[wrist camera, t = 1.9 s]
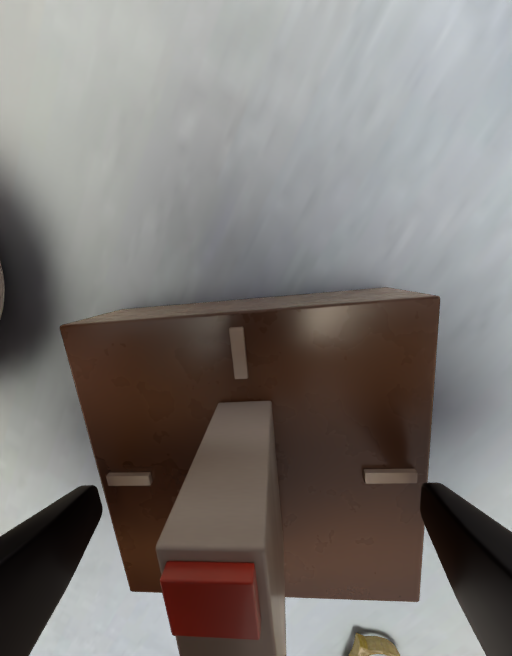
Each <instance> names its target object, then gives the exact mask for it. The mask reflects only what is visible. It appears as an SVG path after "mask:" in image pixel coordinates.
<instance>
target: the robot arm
mask: <svg viewBox="0 0 512 656" xmlns="http://www.w3.org/2000/svg"><path fill="white" fill-rule="evenodd" d="M420 513H421V517H422V519H423V522H424V524H425V527H426V529H427V531H428V534H429V536H430V538H431V540H432V543H433V545H434V547H435V550H436V552H437V554H438V557H439V559H440V561H441V564H442V566H443V568H444V571H445V573H446V575H447V578H448V580H449V582H450V585H451V587H452V589H453V591H454V593H455V596H456V598H457V600H458V602H459V604H460V606H461V608H462V610H463V612H464V614H465V616H466V618H467V619H468V621H469V623H470V625H471V627H472V629H473V631H474V633H475V635H476V637H477V639H478V640H479V642H480V644H481V646H482V648H483V650H484V652H485V654H486V656H512V532H511V531H509V530H508V529H506V528H505V527H503V526H502V525H501V524H499V523H498V522H496V521H495V520H493V519H492V518H491V517H489V516H488V515H486V514H485V513H483V512H482V511H480V510H479V509H478V508H476V507H475V506H473V505H472V504H470V503H469V502H467V501H466V500H465V499H463V498H462V497H460V496H459V495H457V494H456V493H454V492H453V491H452V490H450V489H449V488H447V487H446V486H444V485H443V484H441V483H423V484H422V487H421V499H420ZM101 515H102V504H101V500H100V497H99V493H98V489H97V487H95V486H93V485H85V486H80V487H78V488H76V489H75V490H73V491H71V492H70V493H68V494H67V495H65V496H63V497H62V498H60V499H59V500H57V501H56V502H54V503H52V504H51V505H49V506H48V507H46V508H45V509H43V510H41V511H40V512H38V513H37V514H35V515H33V516H32V517H30V518H29V519H27V520H26V521H24V522H22V523H21V524H19V525H18V526H16V527H15V528H13V529H11V530H10V531H8V532H7V533H5V534H3V535H2V536H0V656H29V654H30V652H31V651H32V649H33V647H34V645H35V644H36V642H37V640H38V638H39V636H40V635H41V633H42V631H43V629H44V628H45V626H46V624H47V622H48V621H49V619H50V617H51V615H52V613H53V612H54V610H55V608H56V606H57V605H58V603H59V601H60V599H61V598H62V596H63V594H64V592H65V590H66V588H67V586H68V585H69V583H70V581H71V579H72V577H73V575H74V573H75V571H76V568H77V566H78V564H79V562H80V560H81V558H82V556H83V554H84V552H85V550H86V548H87V545H88V543H89V541H90V539H91V537H92V535H93V533H94V531H95V529H96V527H97V525H98V522H99V520H100V518H101Z"/></svg>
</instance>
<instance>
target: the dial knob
mask: <svg viewBox="0 0 512 656" xmlns="http://www.w3.org/2000/svg"><path fill="white" fill-rule="evenodd" d="M156 553H157V558H158V562H159V566H160V571H161V578H160V585H161V589H162V593H163V598H164V602H165V606H166V610H167V615H168V619H169V623H170V628H171V632H172V635H174V636H176V641H177V645H178V649H179V654H180V656H286V621H285V579H284V542H283V530H282V518H281V506H280V495H279V483H278V471H277V459H276V448H275V436H274V424H273V412H272V402H271V401H249V402H225V403H218V405H217V407H216V410H215V412H214V414H213V417H212V419H211V421H210V423H209V426H208V428H207V430H206V433H205V435H204V437H203V439H202V442H201V444H200V446H199V448H198V451H197V453H196V455H195V458H194V460H193V462H192V464H191V467H190V469H189V471H188V474H187V476H186V478H185V480H184V483H183V485H182V487H181V490H180V492H179V494H178V496H177V499H176V501H175V503H174V505H173V508H172V510H171V512H170V515H169V517H168V519H167V521H166V524H165V526H164V528H163V531H162V533H161V535H160V537H159V540H158V542H157V544H156Z"/></svg>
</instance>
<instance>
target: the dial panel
mask: <svg viewBox="0 0 512 656" xmlns="http://www.w3.org/2000/svg"><path fill="white" fill-rule="evenodd" d="M439 309H440V297H439V296H436V295H430V294H424V293H418V292H412V291H406V290H400V289H394V288H388V287H384V288H372V289H360V290H348V291H336V292H324V293H312V294H300V295H288V296H275V297H263V298H251V299H239V300H227V301H215V302H203V303H191V304H179V305H167V306H155V307H143V308H131V309H121V310H118V311H114V312H110V313H106V314H102V315H98V316H94V317H91V318H87V319H83V320H79V321H75V322H71V323H67V324H64V325H61V326H60V331H61V335H62V339H63V342H64V346H65V350H66V353H67V357H68V361H69V365H70V368H71V372H72V376H73V379H74V383H75V387H76V390H77V394H78V398H79V402H80V405H81V409H82V413H83V416H84V420H85V424H86V428H87V431H88V435H89V439H90V442H91V446H92V450H93V453H94V457H95V461H96V465H97V468H98V472H99V476H100V479H101V483H102V487H103V491H104V494H105V498H106V502H107V505H108V509H109V513H110V517H111V520H112V524H113V528H114V531H115V535H116V539H117V542H118V546H119V550H120V554H121V557H122V561H123V565H124V568H125V572H126V576H127V580H128V583H129V587H130V590H131V591H132V592H157V593H162V589H161V585H160V578H161V571H160V566H159V562H158V558H157V553H156V544H157V542H158V540H159V537H160V535H161V533H162V531H163V528H164V526H165V524H166V521H167V519H168V517H169V515H170V512H171V510H172V508H173V505H174V503H175V501H176V499H177V496H178V494H179V492H180V490H181V487H182V485H183V483H184V480H185V478H186V476H187V474H188V471H189V469H190V467H191V464H192V462H193V460H194V458H195V455H196V453H197V451H198V448H199V446H200V444H201V442H202V439H203V437H204V435H205V433H206V430H207V428H208V426H209V423H210V421H211V419H212V417H213V414H214V412H215V410H216V407H217V405H218V403H225V402H249V401H271V402H272V412H273V424H274V436H275V448H276V459H277V471H278V483H279V495H280V506H281V518H282V530H283V542H284V579H285V597H295V598H323V599H350V600H378V601H406V602H418V601H419V595H420V581H421V567H422V553H423V538H424V522H423V519H422V517H421V513H420V499H421V487H422V484H423V483H427V481H428V467H429V452H430V438H431V424H432V409H433V395H434V381H435V366H436V352H437V338H438V324H439Z"/></svg>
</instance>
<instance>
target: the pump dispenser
mask: <svg viewBox="0 0 512 656" xmlns="http://www.w3.org/2000/svg"><path fill="white" fill-rule="evenodd" d="M4 293H5V290H4V277H3V271H2V266H1V262H0V318H1V315H2V311H3V305H4Z"/></svg>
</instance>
